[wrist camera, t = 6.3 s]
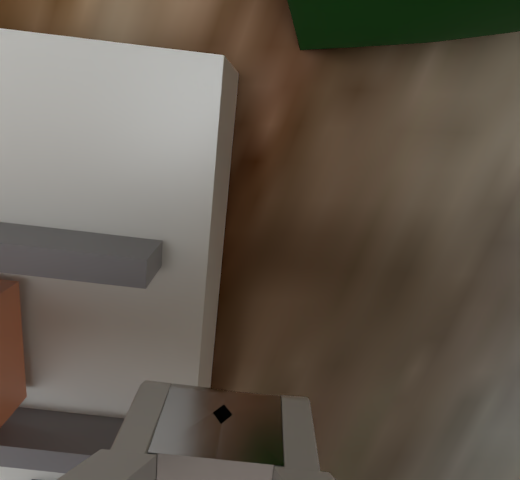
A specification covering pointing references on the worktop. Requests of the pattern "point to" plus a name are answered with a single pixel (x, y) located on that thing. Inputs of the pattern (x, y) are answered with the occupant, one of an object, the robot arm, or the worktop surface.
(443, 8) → the soya milk
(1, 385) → the block
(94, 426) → the panel
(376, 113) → the worktop surface
